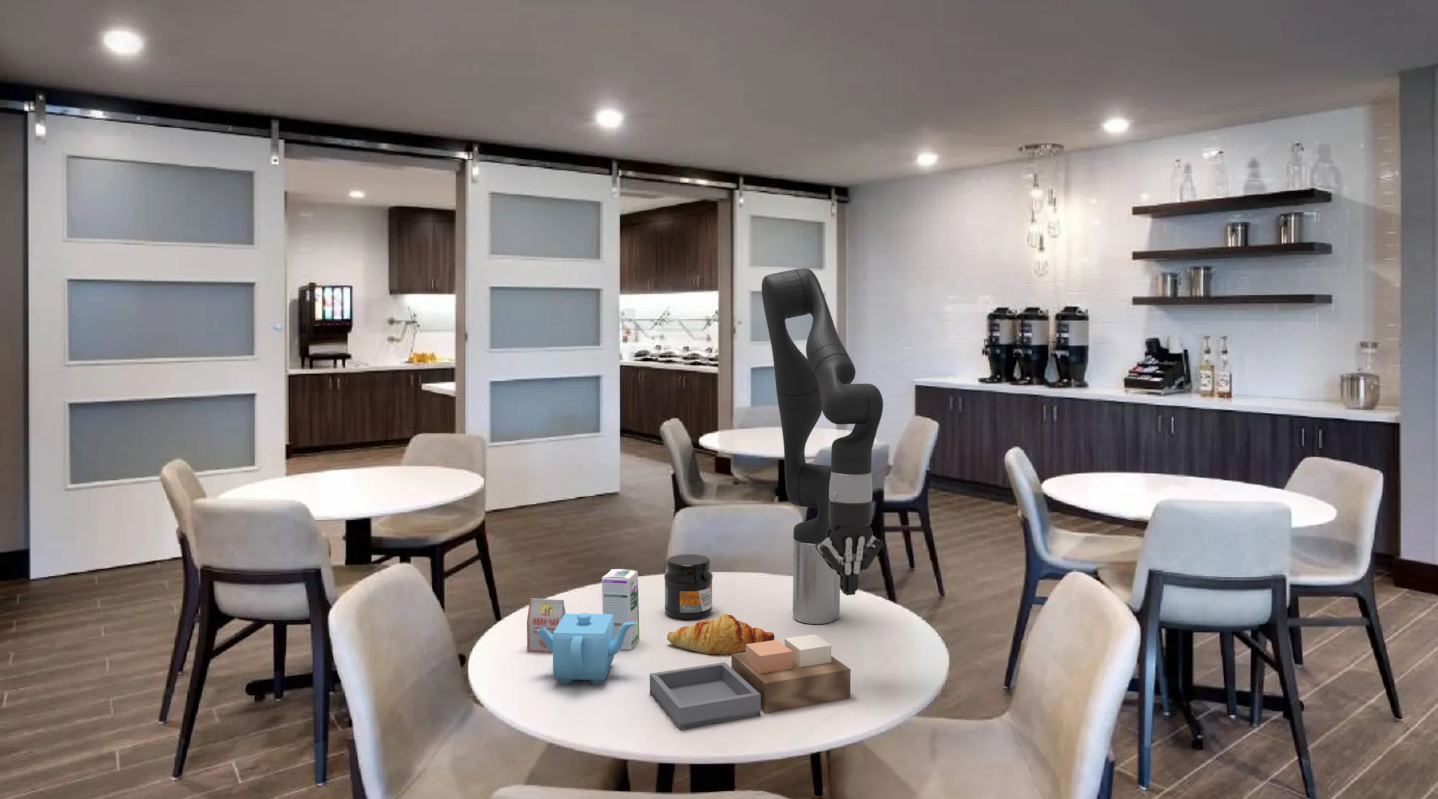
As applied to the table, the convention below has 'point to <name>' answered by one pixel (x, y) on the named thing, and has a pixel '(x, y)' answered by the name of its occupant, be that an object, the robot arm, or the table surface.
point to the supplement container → (688, 587)
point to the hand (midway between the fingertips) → (848, 593)
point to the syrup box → (622, 602)
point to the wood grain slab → (796, 683)
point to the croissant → (718, 636)
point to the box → (704, 695)
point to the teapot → (584, 646)
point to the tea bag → (542, 621)
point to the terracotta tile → (769, 656)
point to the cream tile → (809, 650)
